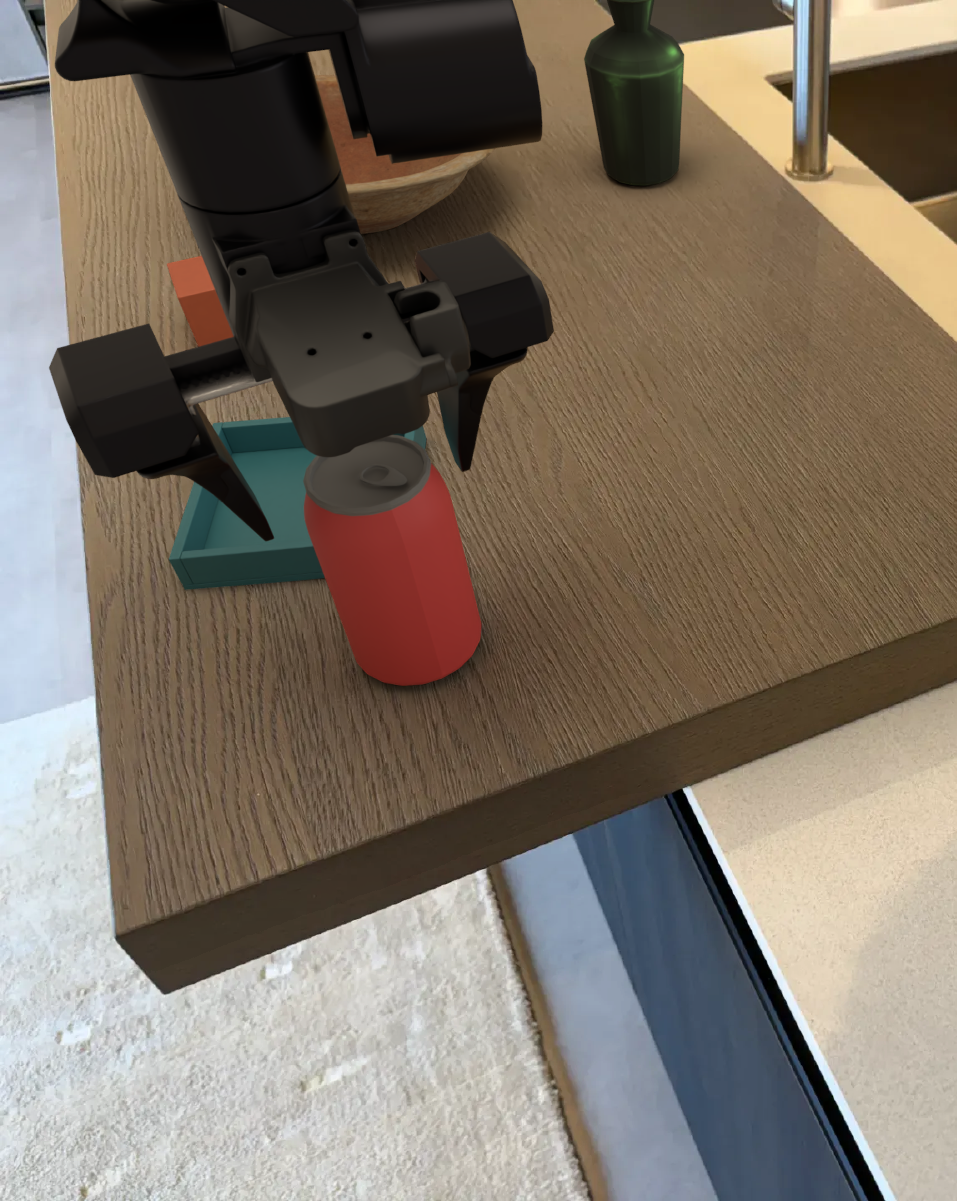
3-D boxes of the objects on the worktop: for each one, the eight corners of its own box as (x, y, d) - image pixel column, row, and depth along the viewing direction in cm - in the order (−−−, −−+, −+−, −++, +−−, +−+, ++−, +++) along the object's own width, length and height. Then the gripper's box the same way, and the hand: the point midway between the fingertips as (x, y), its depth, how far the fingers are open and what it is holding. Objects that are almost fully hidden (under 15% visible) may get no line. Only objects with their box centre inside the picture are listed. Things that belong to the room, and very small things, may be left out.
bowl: (549, 250, 90) (536, 152, 84) (232, 316, 82) (193, 212, 76) (466, 130, 104) (450, 39, 98) (189, 176, 96) (154, 80, 90)
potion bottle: (706, 177, 98) (700, -53, 85) (622, 199, 95) (604, -36, 82) (659, 141, 103) (647, -82, 90) (578, 161, 99) (553, -68, 87)
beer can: (441, 707, 57) (389, 533, 49) (329, 671, 59) (259, 496, 50) (506, 618, 62) (468, 444, 53) (400, 587, 63) (347, 412, 54)
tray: (185, 592, 63) (167, 559, 61) (227, 454, 71) (212, 422, 69) (411, 570, 64) (401, 537, 62) (426, 437, 73) (417, 406, 71)
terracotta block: (204, 361, 78) (177, 297, 74) (193, 326, 81) (166, 262, 77) (280, 342, 80) (256, 279, 76) (265, 308, 83) (242, 245, 79)
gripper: (9, 360, 33) (201, 696, 45) (586, 204, 41) (627, 527, 52) (-37, 205, 40) (141, 533, 51) (469, 95, 47) (528, 403, 58)
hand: (368, 499), depth 53 cm, fingers open, 9 cm apart
